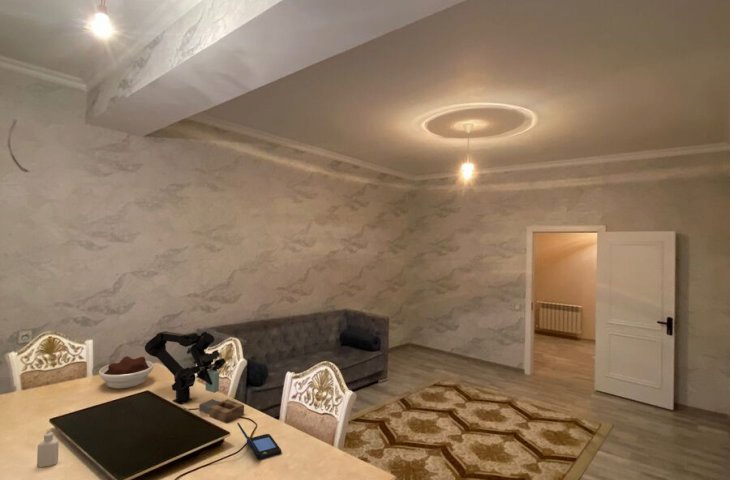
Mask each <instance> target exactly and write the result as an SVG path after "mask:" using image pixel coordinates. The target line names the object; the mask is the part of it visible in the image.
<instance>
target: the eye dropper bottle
mask: <svg viewBox="0 0 730 480" xmlns="http://www.w3.org/2000/svg"><path fill="white" fill-rule="evenodd" d="M59 445H60V444H59V440H58V439H55V438H54V432H53V431H51V429H50V428H49V429H47V432H46V433H45V434H44V435H43V440H42V441H40V442H39V443H38V445H37V449H36V451H37V454H36V455H37V457H36V467H38V466H47V467H51V465H52V466H56V464H57V463H58V462H59V447H60V446H59Z"/></svg>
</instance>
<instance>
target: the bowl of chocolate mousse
mask: <svg viewBox="0 0 730 480" xmlns="http://www.w3.org/2000/svg"><path fill="white" fill-rule="evenodd" d="M154 365H155V364H154V363H153V362H152V361H149V360H146V358H145V357H144V356H140V357H137V358H132V357H130V356H128V355H127V356H124V357H122V358H121V360H120V361H118V362H113V363H110V364H107V365H105V366H103V367H102V368H100V369H99V371H98V375H99V378H101V380H103V381H104V383H105V385H106V386H107V387H108V388H112V389H127V388H133V387H136V386H139V385H141V384H142V383H144V382H145V381H146V379H147V377H148V376H149V375H150V374H151V372H152V371H153V369H154Z"/></svg>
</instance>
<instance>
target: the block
mask: <svg viewBox="0 0 730 480" xmlns="http://www.w3.org/2000/svg"><path fill="white" fill-rule="evenodd" d="M207 372H208V375H209V377H210V379H211V381H212V385H210V384H208V383H207V382H205V391H207V392H210V393H213V394H215V393H218V392H219V391H220V390H219V389H220V371H218V370H217V371H214V370H211V369H210V370H207Z"/></svg>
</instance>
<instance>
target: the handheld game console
mask: <svg viewBox="0 0 730 480" xmlns="http://www.w3.org/2000/svg"><path fill="white" fill-rule="evenodd" d="M236 424H237V426H238V428H239V430H240V431H241V433H242V434H243V436H244V438H245V440H246V443H247V444H248V446H249V447H250V449H252V451H253V454H254V456H255V458H256V459H257V460H258V461H261V460H263V459H266V458H270V457H274V456H277V455H280V454H281V453H282V449H281V447H279V446H280V445H278V443H277V442H276V441H275V439H274V438H273V437H272V435H271V434H269V433H265V434H261V435H257V436H252V437H250V436H248V434H247V432H245V430H244V428H242V426H241V424H240V423H239V422H237V423H236Z"/></svg>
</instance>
